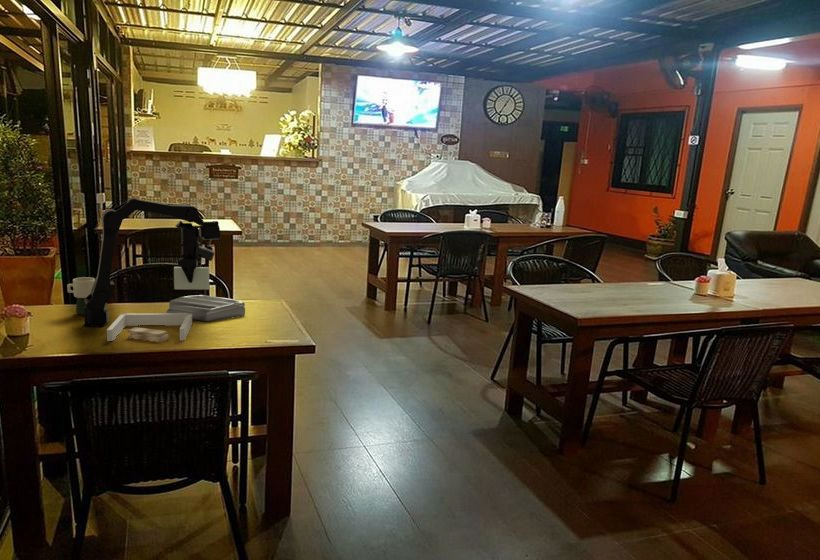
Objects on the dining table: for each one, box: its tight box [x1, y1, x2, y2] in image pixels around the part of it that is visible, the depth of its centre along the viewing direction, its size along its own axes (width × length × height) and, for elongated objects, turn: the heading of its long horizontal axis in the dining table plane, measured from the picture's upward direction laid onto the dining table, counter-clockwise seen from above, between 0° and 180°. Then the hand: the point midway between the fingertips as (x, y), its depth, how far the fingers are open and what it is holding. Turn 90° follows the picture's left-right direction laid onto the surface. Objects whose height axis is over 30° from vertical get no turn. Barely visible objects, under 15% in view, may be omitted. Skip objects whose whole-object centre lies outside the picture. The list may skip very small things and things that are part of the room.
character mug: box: [66, 276, 96, 315], centre depth 212 cm, size 11×7×13 cm, turn 107°
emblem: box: [166, 294, 246, 323], centre depth 224 cm, size 28×5×28 cm
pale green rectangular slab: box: [173, 266, 210, 290], centre depth 216 cm, size 12×2×8 cm, turn 103°
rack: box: [106, 312, 193, 342], centre depth 196 cm, size 23×20×4 cm
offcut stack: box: [127, 326, 169, 343], centre depth 190 cm, size 12×4×3 cm, turn 77°
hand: (191, 281), depth 216 cm, fingers closed on pale green rectangular slab, 2 cm apart
